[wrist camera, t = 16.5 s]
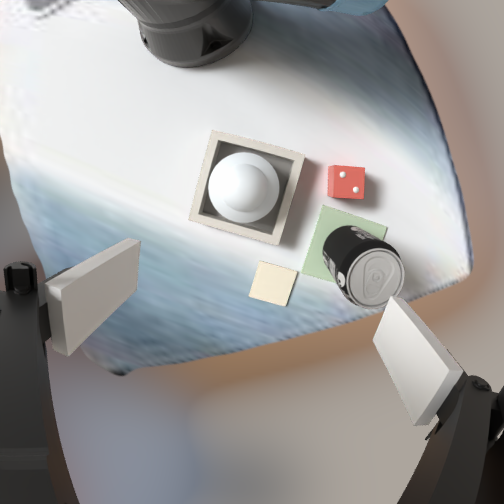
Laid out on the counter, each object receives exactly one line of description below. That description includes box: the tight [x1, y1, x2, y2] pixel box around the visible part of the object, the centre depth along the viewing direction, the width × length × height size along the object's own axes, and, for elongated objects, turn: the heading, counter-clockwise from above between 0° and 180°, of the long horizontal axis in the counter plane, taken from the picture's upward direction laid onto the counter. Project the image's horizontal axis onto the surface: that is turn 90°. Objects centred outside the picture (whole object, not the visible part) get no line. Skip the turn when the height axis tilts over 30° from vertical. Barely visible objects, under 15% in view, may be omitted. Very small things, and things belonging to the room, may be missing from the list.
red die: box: [328, 165, 365, 199], centre depth 33 cm, size 4×4×4 cm
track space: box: [249, 261, 297, 306], centre depth 38 cm, size 5×5×1 cm
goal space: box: [301, 205, 387, 283], centre depth 37 cm, size 9×9×1 cm
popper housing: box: [188, 130, 305, 246], centre depth 35 cm, size 11×11×2 cm
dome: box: [208, 152, 279, 223], centre depth 32 cm, size 8×8×5 cm
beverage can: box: [322, 225, 405, 309], centre depth 31 cm, size 7×7×12 cm
